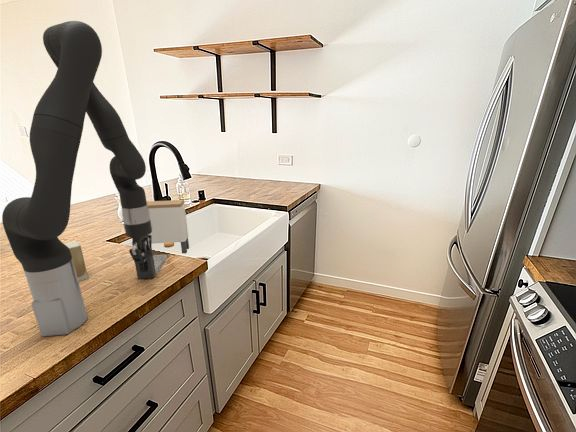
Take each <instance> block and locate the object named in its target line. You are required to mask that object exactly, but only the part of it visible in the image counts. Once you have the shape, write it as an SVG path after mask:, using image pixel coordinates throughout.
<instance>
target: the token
mask: <svg viewBox="0 0 576 432" xmlns="http://www.w3.org/2000/svg"><path fill="white" fill-rule="evenodd" d="M174 246H175V242H172V243H163V248H173V247H174Z"/></svg>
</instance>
